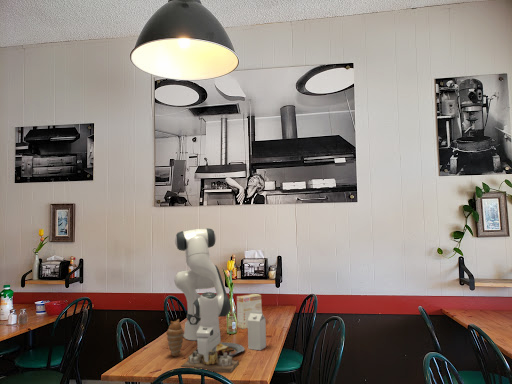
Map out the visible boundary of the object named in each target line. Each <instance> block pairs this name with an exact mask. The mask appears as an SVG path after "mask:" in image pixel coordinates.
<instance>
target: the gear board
mask: <svg viewBox="0 0 512 384" xmlns="http://www.w3.org/2000/svg"><path fill="white" fill-rule="evenodd" d="M211 354H212V352H209V354H208V355H211ZM187 357H188V358H187V359H188V360H187V361H185V362H184V363H183V364H182V365H180V368H181V367H194V368H202V369H207V370H211V371H210V372H212V371H215V372H214V373H227V374H228V373H229V374H231V373H232V372H233V371H234V370H235V369H236V368H237V367H238V366H239V364H240V361H239V360H233V356H227V353H223V356H220V357H218V358H217V363H214V364H209V365H206V364H203V355H200V354H197V351H196V350H193V352H192V354H190V355H188V356H187Z"/></svg>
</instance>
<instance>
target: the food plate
mask: <svg viewBox="0 0 512 384" xmlns="http://www.w3.org/2000/svg"><path fill="white" fill-rule="evenodd" d="M245 350H246V349H245V347H244V346H243V345H241V344H238V343H234V342H222V341H220V343H219V344H218V345H217V348H216V352H217V358H220V356H223V353H227V356H230V357H235V355H238V354H240V353H241V352H244V351H245ZM195 351H197V354H199V353H198V347H197V348H196V349H195ZM211 351H212V350H211ZM211 351H209V352H211ZM200 355H201V354H200Z"/></svg>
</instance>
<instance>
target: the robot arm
mask: <svg viewBox="0 0 512 384" xmlns="http://www.w3.org/2000/svg"><path fill="white" fill-rule="evenodd" d="M216 241H217V236H216V233H215V231H214V230H213V229H212V228H195V229H189V230H184V231H183V230H182V231H179V232H177V233H176V234H175V239H174V245H175V246H176V249H177V250H178V251H180V252H181V251H183V252H185V253H184V254H185V263H186V265H187V266H188V268H189V269H188V270H182V271H177V272H176V275H175V276H174V279H173V280H174V284H175V286H176V288H177V289H178V290H180V291H181V292H182V293H183V294H184V296H185V299H186V304H187V307H186V308H187V313H186V321H185V322H184V332H183V339H186V340H189V341H196V343H197V348H198V353H199V354H201V355H202V357H203V356H204V361H205V362H208V361H209V357H208V354H209V351H211V350H212V351H214V352H216V348H217V345H218V344H219V343H220V342H222V341H221V330H220V319H219V317H220V318H222V317H223V318H224V317H227V315H228V314H230V312H231V309H232V308H231V307H232V305H231V301H230V299H229V296H228V293H227V291H226V287H225V285H224V281H223V278H222V276H221V272H220V270H219V269H220V268H219V267H218V266H217V265H215V264H214V263H213V261H212V259H211V257H210V256H211V255H210V252H209V250H210V249H209V248H213V247H214V246H215V245H216ZM211 288H212V289H213V288H214V289H215V292H210V291H209V292H207V291H206V292H203V293H201V294H200V293H198V292H197V291H196V290H202V289H203V290H207V289H211Z"/></svg>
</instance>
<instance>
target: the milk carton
mask: <svg viewBox="0 0 512 384" xmlns="http://www.w3.org/2000/svg"><path fill="white" fill-rule="evenodd" d="M266 323H267V322H266V317H265V315H264V314H263V311H262V312H256V311H250V316H249V318H248V328H247V343H248V344H247V346H248V350H255V351H261V350H264V349H265V348H267V335H266V334H267V333H266V332H267V329H266V328H267V327H266V326H267V325H266Z"/></svg>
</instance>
